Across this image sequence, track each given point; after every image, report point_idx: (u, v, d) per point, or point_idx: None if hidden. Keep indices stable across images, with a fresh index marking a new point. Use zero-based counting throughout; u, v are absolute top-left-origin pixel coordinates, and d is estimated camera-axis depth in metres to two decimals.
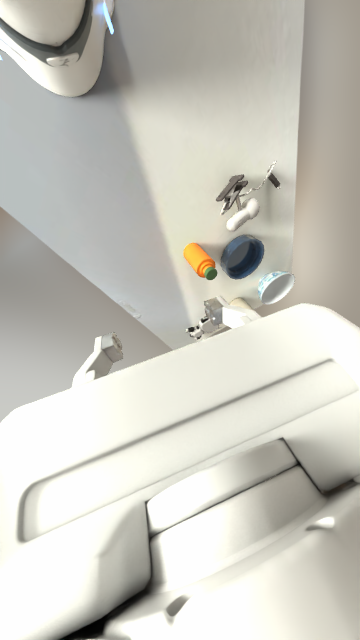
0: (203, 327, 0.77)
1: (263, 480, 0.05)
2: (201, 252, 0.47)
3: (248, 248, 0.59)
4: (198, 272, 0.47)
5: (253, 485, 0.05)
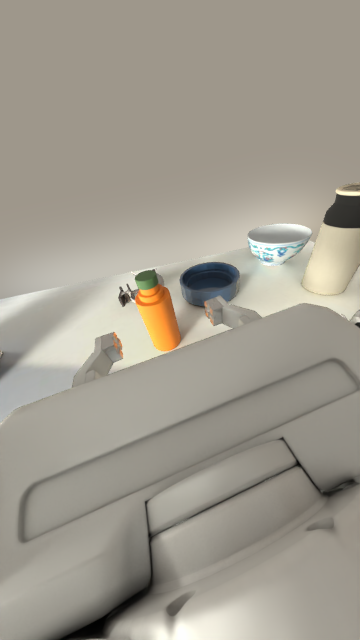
0: None
1: (263, 480, 0.05)
2: None
3: (204, 281, 0.47)
4: (149, 304, 0.25)
5: (253, 485, 0.05)
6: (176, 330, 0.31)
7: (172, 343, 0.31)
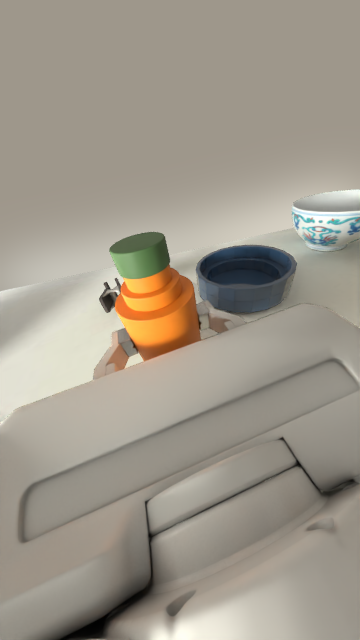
0: None
1: (263, 480, 0.05)
2: None
3: (230, 274, 0.32)
4: (147, 316, 0.10)
5: (253, 485, 0.05)
6: None
7: None
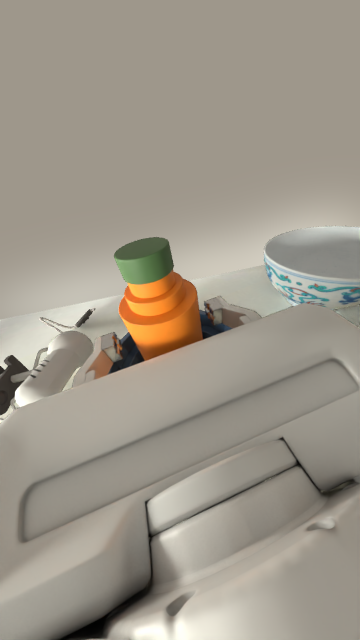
0: None
1: (263, 480, 0.05)
2: None
3: None
4: (151, 320, 0.10)
5: (253, 485, 0.05)
6: None
7: None
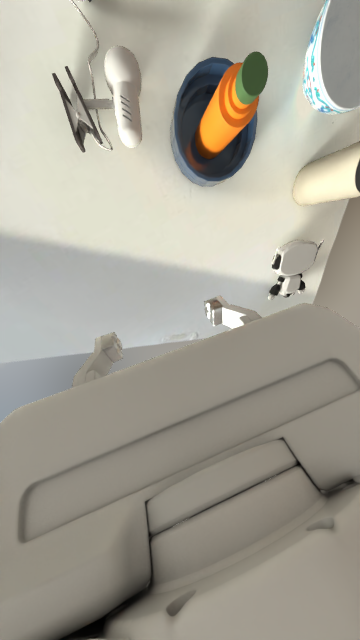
0: (288, 271, 0.43)
1: (263, 480, 0.05)
2: (210, 101, 0.24)
3: None
4: (234, 123, 0.23)
5: (253, 485, 0.05)
6: None
7: None
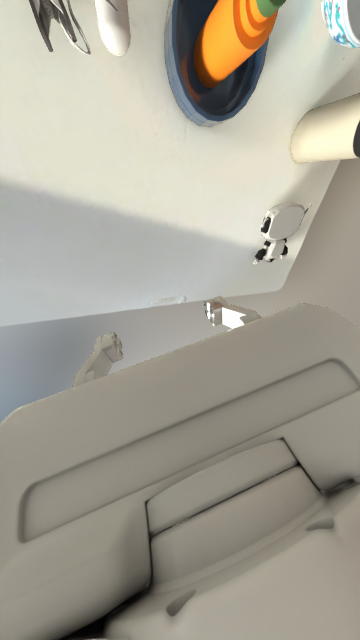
0: (275, 236, 0.44)
1: (263, 480, 0.05)
2: None
3: (211, 6, 0.23)
4: (247, 42, 0.19)
5: (253, 485, 0.05)
6: None
7: (219, 82, 0.27)
